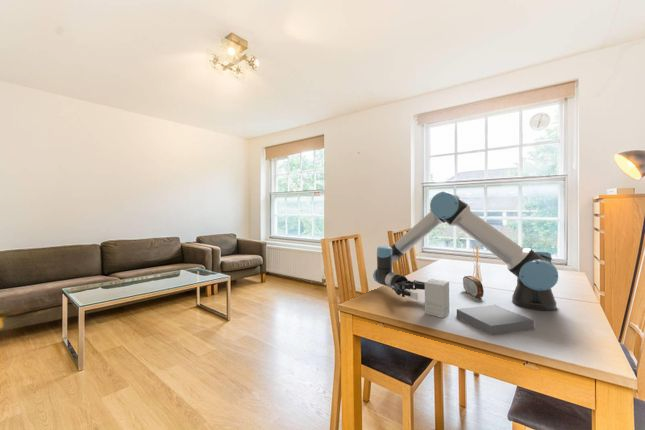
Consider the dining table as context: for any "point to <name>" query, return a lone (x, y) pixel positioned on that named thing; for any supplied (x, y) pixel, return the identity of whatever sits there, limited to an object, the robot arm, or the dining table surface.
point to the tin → (473, 286)
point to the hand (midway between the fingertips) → (430, 294)
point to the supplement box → (437, 298)
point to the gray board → (495, 319)
